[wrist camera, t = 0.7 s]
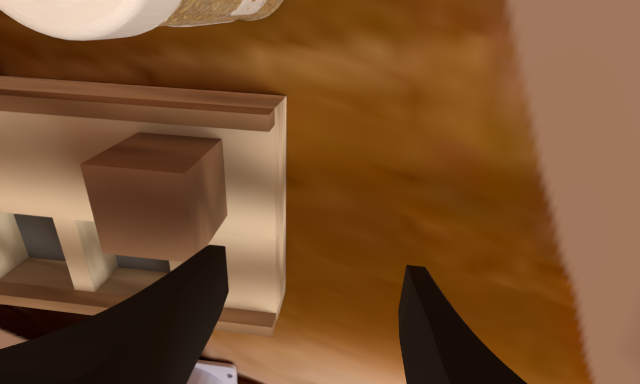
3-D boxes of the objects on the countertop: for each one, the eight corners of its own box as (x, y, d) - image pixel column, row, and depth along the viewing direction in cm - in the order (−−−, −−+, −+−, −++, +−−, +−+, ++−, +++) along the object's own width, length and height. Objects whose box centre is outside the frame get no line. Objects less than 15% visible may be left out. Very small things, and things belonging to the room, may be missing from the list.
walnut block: (227, 215, 21) (195, 263, 17) (151, 207, 22) (102, 253, 18) (222, 138, 19) (184, 173, 15) (138, 132, 20) (79, 164, 16)
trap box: (285, 291, 27) (272, 337, 24) (-46, 254, 29) (-106, 290, 26) (286, 95, 21) (268, 115, 17) (-133, 66, 23) (-230, 78, 19)
